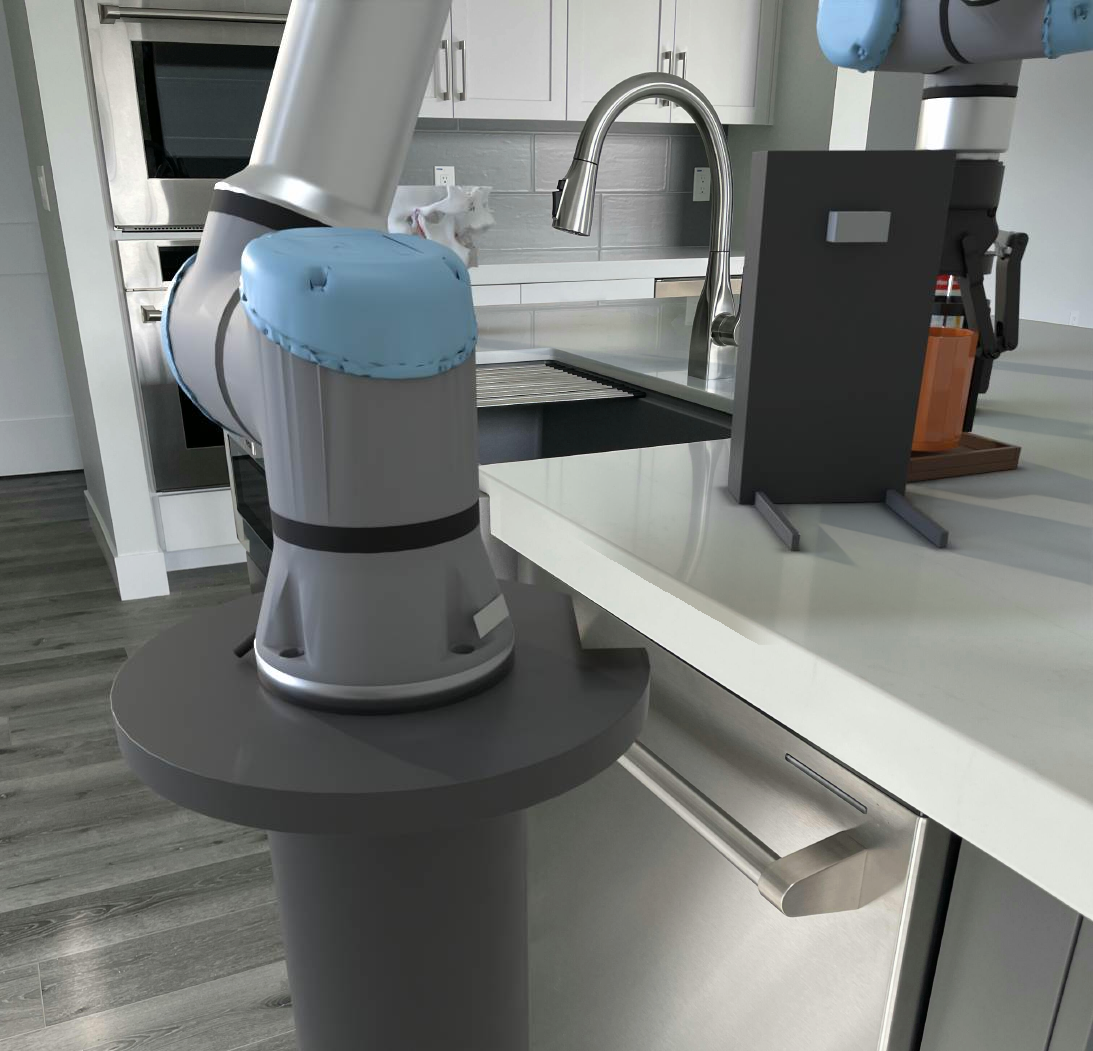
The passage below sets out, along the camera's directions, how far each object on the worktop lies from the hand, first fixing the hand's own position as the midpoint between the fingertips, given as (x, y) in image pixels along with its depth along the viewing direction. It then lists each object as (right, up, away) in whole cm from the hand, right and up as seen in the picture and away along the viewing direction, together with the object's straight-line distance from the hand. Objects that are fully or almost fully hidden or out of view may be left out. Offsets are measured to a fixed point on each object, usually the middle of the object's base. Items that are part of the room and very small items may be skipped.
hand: (918, 429), depth 102 cm
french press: (+10, +9, +23) cm, 27 cm away
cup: (0, -1, +1) cm, 1 cm away
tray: (0, -3, +1) cm, 3 cm away
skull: (-56, +40, +84) cm, 109 cm away
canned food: (+22, +27, +59) cm, 69 cm away
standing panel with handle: (-12, -11, -15) cm, 23 cm away
